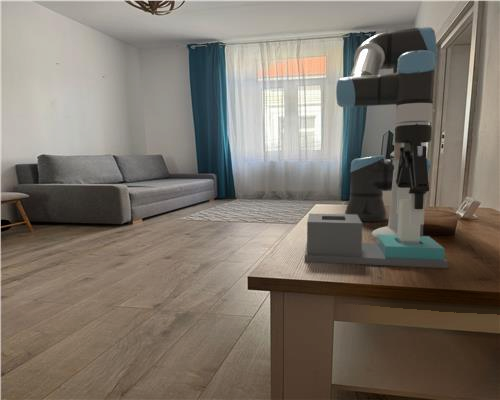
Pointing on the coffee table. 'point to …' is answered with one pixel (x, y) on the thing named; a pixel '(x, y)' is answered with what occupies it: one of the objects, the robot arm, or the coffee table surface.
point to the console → (365, 245)
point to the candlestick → (392, 199)
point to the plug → (407, 225)
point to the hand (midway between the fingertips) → (409, 218)
